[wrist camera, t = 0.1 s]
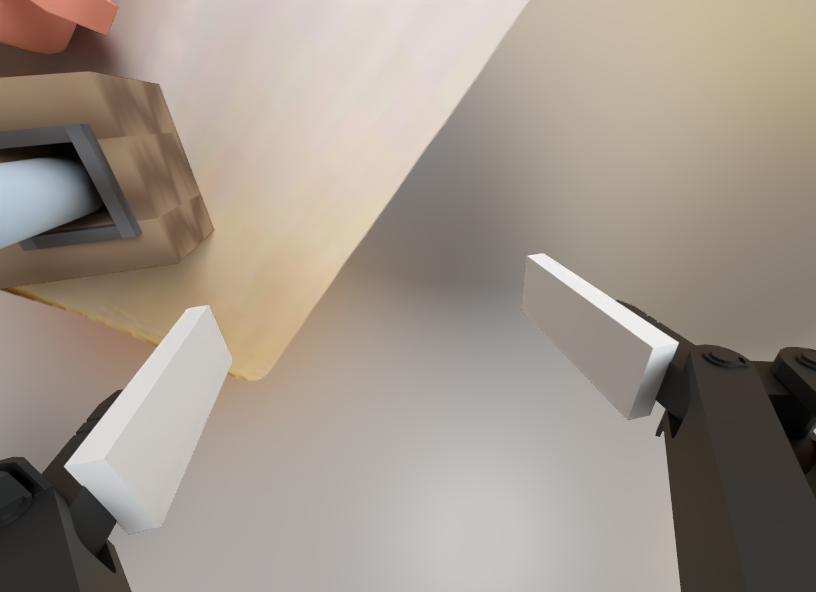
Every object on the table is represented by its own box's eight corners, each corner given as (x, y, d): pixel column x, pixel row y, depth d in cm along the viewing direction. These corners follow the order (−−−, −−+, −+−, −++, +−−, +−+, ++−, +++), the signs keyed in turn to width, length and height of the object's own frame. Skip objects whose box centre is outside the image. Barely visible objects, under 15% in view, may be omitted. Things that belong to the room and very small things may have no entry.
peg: (19, 159, 24) (-131, 179, 17) (84, 153, 25) (-30, 169, 17) (55, 218, 27) (-62, 260, 19) (114, 211, 27) (25, 249, 19)
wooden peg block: (-120, 105, 28) (-354, 100, 19) (158, 84, 31) (78, 69, 21) (-6, 258, 35) (-134, 311, 25) (214, 229, 38) (172, 268, 28)
